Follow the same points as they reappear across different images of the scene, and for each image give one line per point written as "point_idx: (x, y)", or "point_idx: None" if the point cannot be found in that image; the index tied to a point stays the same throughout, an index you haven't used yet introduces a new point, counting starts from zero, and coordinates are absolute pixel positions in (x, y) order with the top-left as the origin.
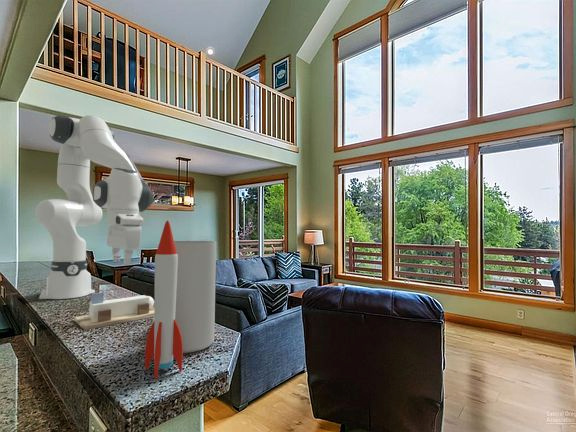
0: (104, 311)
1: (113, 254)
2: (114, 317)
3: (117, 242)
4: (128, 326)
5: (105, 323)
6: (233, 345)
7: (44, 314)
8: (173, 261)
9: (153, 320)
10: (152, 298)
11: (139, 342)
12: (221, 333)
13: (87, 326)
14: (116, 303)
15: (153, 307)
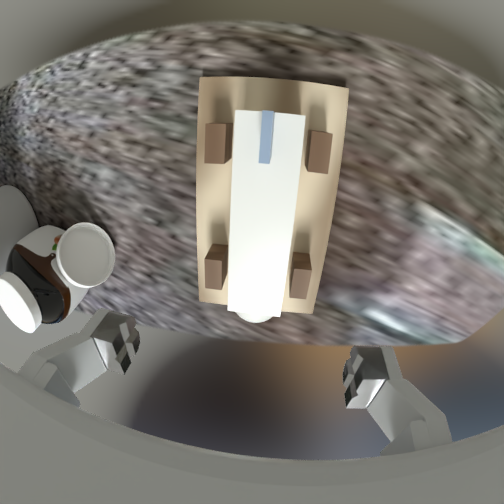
0: (205, 139)
1: (397, 390)
2: None
3: (125, 500)
4: (152, 183)
5: (198, 135)
6: None
7: (477, 81)
8: None
9: (75, 224)
10: (244, 319)
11: (46, 165)
12: None
13: (199, 85)
14: (231, 196)
15: None
